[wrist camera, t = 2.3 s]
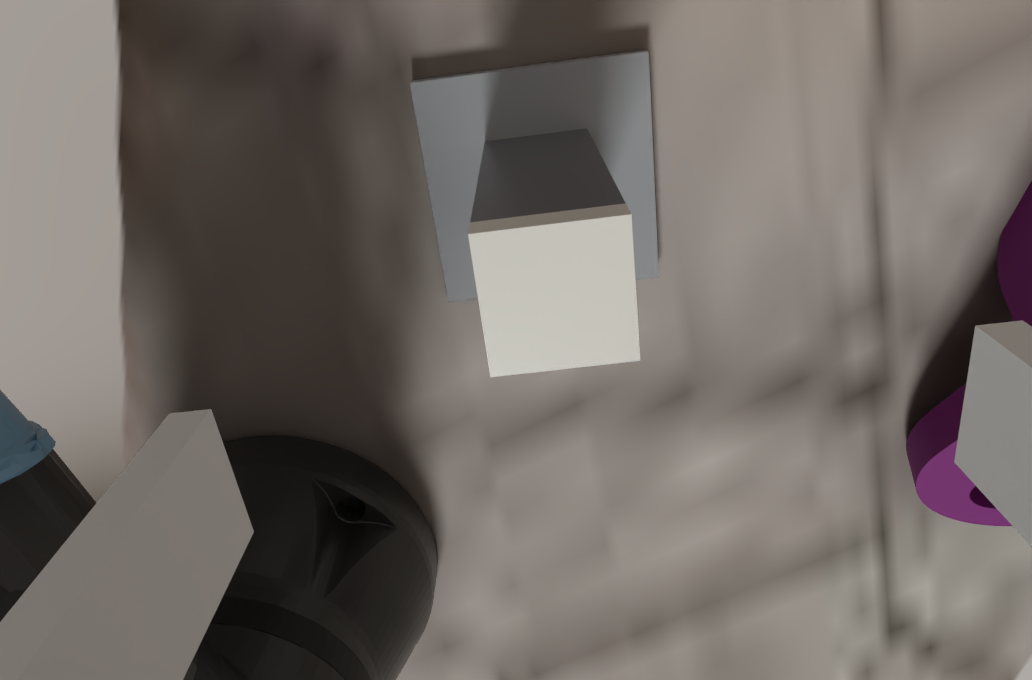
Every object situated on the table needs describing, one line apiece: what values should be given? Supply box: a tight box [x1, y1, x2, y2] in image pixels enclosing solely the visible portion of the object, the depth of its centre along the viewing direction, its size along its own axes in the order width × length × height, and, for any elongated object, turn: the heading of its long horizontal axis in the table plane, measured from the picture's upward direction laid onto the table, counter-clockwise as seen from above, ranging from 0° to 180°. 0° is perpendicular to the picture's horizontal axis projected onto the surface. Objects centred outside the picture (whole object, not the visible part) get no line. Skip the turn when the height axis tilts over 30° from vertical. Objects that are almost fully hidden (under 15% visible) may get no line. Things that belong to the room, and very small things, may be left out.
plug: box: [468, 128, 640, 377], centre depth 24 cm, size 4×4×12 cm
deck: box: [410, 50, 659, 302], centre depth 30 cm, size 9×9×1 cm
